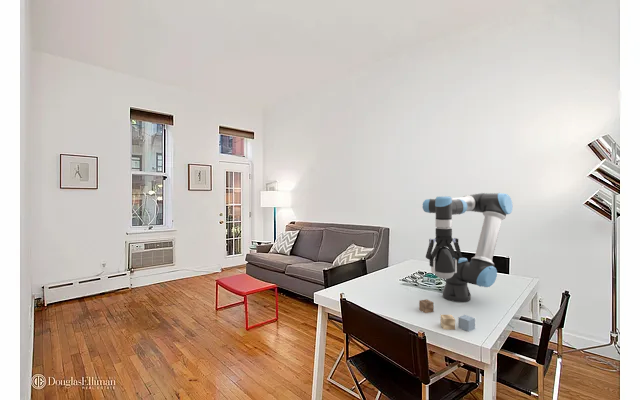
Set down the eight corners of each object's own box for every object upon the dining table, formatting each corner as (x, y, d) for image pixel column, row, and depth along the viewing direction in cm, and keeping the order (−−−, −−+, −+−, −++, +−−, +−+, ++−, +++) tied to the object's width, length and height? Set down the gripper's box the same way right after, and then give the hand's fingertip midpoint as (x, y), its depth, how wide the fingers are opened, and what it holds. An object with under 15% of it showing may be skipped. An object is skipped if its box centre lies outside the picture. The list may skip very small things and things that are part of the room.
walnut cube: (427, 308, 170) (427, 299, 169) (433, 311, 165) (433, 302, 165) (419, 309, 168) (419, 300, 168) (425, 313, 163) (425, 303, 163)
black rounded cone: (449, 274, 161) (449, 244, 161) (459, 280, 151) (459, 248, 150) (429, 274, 161) (429, 245, 160) (438, 280, 151) (437, 249, 150)
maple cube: (451, 325, 149) (451, 314, 149) (455, 329, 144) (454, 319, 144) (440, 324, 149) (440, 314, 149) (443, 329, 144) (443, 318, 144)
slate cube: (464, 325, 148) (464, 314, 148) (474, 329, 144) (474, 318, 144) (458, 327, 146) (458, 317, 146) (468, 331, 142) (468, 320, 141)
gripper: (462, 226, 159) (462, 269, 160) (418, 227, 158) (418, 271, 159) (470, 228, 152) (470, 273, 153) (424, 229, 150) (424, 275, 151)
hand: (443, 272), depth 156 cm, fingers closed on black rounded cone, 10 cm apart
